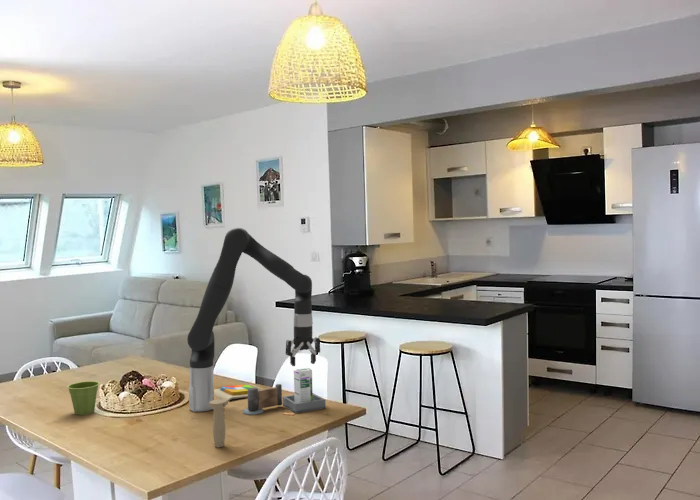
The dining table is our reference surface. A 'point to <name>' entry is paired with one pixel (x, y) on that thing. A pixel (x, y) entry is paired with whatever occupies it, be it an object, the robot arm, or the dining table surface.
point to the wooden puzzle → (234, 391)
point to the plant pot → (83, 396)
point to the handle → (218, 421)
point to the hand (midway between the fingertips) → (303, 364)
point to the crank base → (259, 412)
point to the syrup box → (303, 385)
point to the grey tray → (303, 404)
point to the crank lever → (264, 397)
